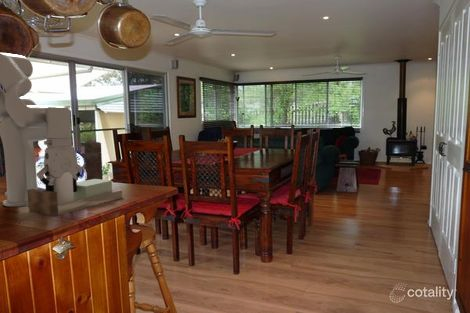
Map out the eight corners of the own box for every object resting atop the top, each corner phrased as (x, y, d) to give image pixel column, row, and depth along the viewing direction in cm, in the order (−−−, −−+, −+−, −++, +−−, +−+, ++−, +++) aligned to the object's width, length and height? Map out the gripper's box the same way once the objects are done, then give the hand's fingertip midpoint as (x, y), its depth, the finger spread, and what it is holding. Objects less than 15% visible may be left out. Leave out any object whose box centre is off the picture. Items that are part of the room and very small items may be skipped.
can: (66, 208, 123) (64, 172, 122) (48, 207, 124) (46, 172, 123) (77, 203, 130) (76, 169, 128) (61, 202, 131) (59, 169, 129)
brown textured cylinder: (90, 183, 172) (88, 140, 170) (105, 183, 172) (103, 140, 170) (83, 186, 165) (80, 141, 162) (99, 186, 164) (97, 141, 162)
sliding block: (69, 199, 134) (68, 184, 133) (95, 193, 144) (94, 178, 144) (86, 202, 130) (85, 186, 129) (112, 195, 140) (111, 180, 140)
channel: (28, 212, 122) (27, 189, 121) (100, 194, 149) (99, 176, 148) (52, 216, 117) (51, 193, 116) (122, 197, 143) (121, 178, 142)
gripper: (42, 145, 115) (45, 200, 117) (88, 141, 130) (90, 190, 132) (27, 144, 119) (30, 197, 121) (74, 141, 134) (76, 188, 136)
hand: (62, 193), depth 127 cm, fingers open, 8 cm apart
